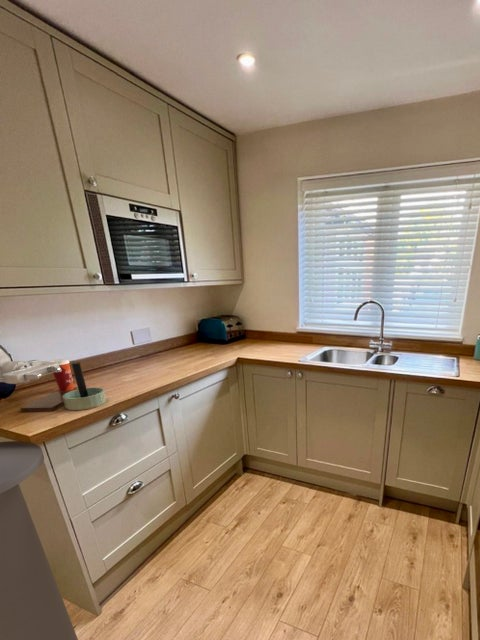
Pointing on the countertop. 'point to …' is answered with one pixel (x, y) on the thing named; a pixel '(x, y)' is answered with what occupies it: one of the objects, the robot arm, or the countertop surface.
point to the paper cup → (64, 375)
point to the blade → (80, 379)
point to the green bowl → (84, 399)
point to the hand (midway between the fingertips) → (50, 373)
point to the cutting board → (46, 403)
